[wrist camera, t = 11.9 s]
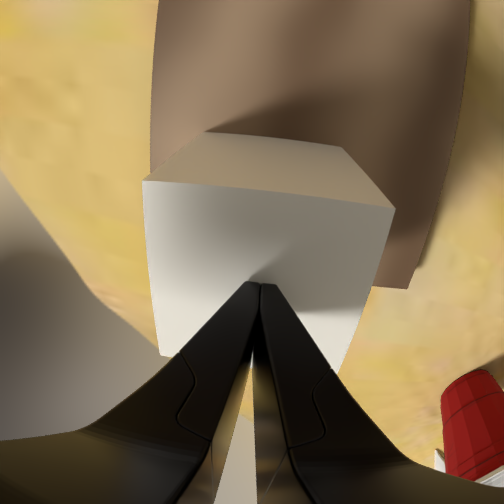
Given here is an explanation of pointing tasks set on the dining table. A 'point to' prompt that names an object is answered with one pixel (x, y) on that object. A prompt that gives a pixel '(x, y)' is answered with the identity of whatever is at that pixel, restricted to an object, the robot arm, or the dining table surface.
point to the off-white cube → (262, 234)
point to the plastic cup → (474, 429)
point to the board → (323, 91)
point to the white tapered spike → (439, 462)
